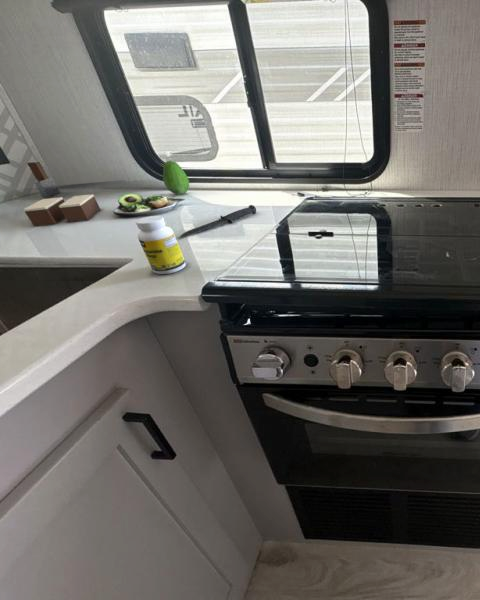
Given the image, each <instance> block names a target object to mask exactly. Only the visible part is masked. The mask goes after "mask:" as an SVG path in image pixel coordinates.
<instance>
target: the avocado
mask: <svg viewBox="0 0 480 600" xmlns="http://www.w3.org/2000/svg"><path fill="white" fill-rule="evenodd" d="M162 170H163V171H162V180H163V183H164V186H165V187H166V189H167V190H168V191H169V192H171V193H173V194H174V195H178V196H179V195H185V194H186V193H187V192H188V191H189V188H190V179H189V178H188V176H187V174H186V172H185V171H184V170H183V169H182V167H181V165H179V164H178V163H177V162H176V161H174V160H166V161H165V162H164V164H163V169H162Z"/></svg>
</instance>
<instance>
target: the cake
mask: <svg viewBox="0 0 480 600" xmlns="http://www.w3.org/2000/svg"><path fill="white" fill-rule="evenodd" d="M22 209H23V208H22ZM23 211H24V213H25V215H26V216H27V218H28V219H29V221H30V223H31V224H32V226H33V227H41V226H49V225H56V224H58V223H59V222H60V221H61V220H63V219H64V218H65V220H66V221H67V223H75V222H83V221H84V222H85V221H89V220H90V219H91V218H92V217H94V216H95V215H96V214H97V213H99V212H100V211H101V207H100V205H99V203H98V200H96V197H95V195H94V194H93V193H92V194H82V195H73V196H72V197H70V198H69V199H67V200H66V201H65V200H64V198H63V196H61V197H51V198H48V199H44V198H42V199H40V200H38V201H36V202H34V203H33V204H31V205H29V206H27V207H25V208H24V209H23Z"/></svg>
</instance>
